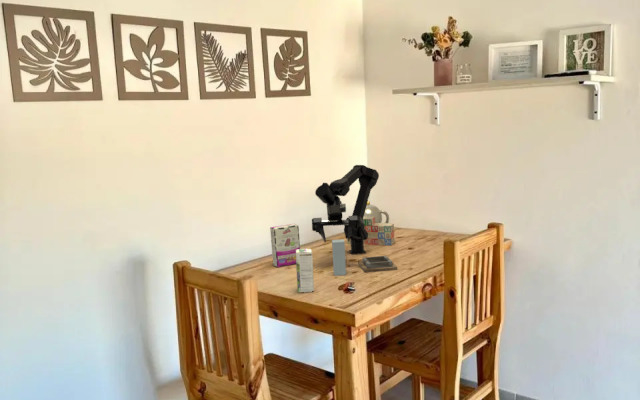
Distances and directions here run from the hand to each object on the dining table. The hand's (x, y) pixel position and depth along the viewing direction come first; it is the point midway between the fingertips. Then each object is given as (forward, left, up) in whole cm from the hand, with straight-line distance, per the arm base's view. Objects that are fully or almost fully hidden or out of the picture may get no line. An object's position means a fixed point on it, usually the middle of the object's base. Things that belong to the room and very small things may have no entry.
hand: (336, 240), depth 230 cm
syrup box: (+23, -15, -12) cm, 30 cm away
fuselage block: (+6, 0, -12) cm, 13 cm away
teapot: (-63, +28, -12) cm, 70 cm away
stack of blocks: (-41, +22, -12) cm, 48 cm away
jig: (+1, +16, -12) cm, 20 cm away
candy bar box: (-15, -19, -12) cm, 28 cm away
